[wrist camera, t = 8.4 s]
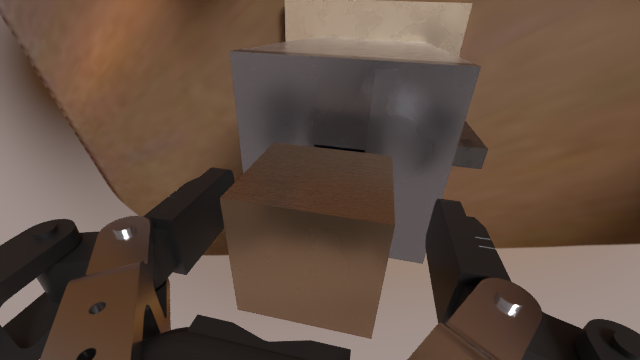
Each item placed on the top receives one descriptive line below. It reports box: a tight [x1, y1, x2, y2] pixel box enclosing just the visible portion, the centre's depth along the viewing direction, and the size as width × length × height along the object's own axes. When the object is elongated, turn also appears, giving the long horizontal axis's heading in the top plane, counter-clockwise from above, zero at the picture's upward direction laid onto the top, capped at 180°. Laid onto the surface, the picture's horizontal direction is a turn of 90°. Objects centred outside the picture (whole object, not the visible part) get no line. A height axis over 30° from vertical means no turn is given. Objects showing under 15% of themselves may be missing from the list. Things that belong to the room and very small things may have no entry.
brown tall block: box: [220, 142, 395, 339], centre depth 17 cm, size 7×7×21 cm
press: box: [230, 0, 488, 263], centre depth 22 cm, size 16×16×18 cm
